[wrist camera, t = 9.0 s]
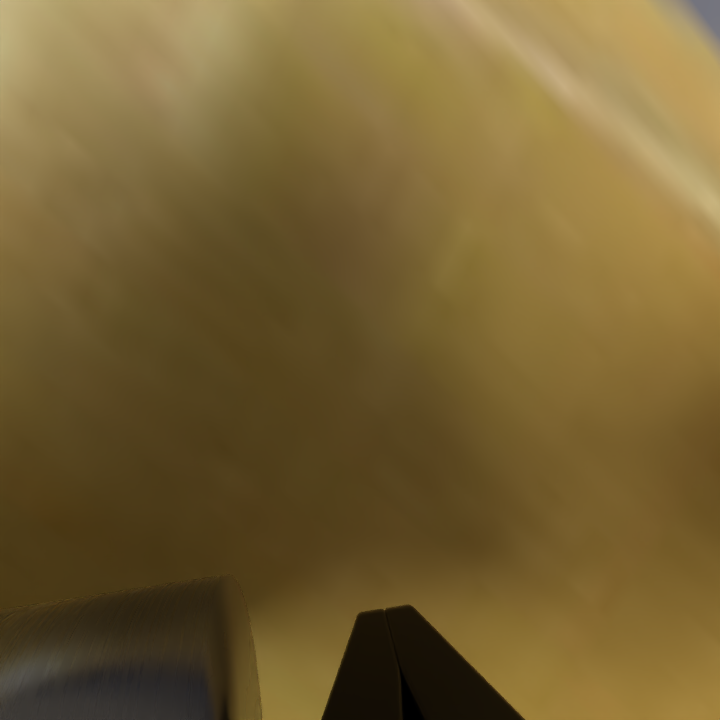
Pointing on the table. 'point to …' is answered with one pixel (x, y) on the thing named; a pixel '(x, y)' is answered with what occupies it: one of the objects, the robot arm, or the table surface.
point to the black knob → (132, 656)
